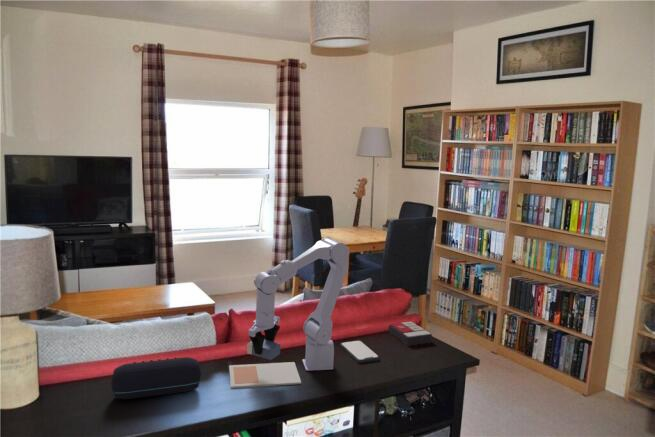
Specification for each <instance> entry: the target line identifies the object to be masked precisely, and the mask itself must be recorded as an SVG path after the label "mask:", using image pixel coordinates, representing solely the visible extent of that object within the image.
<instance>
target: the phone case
mask: <svg viewBox="0 0 655 437" xmlns="http://www.w3.org/2000/svg"><path fill="white" fill-rule="evenodd" d="M340 347H341V348H342V349H343V350H344V351H345V352H346V353H347V354H348V355H349V356H350V357H351V358H352V359H353V360H354V361H355V362H357V363H358V364H365V363H371V362H377V361H379V360H380V356H379V355H378V354H377V353H376V352H374V350H372V348H370V347H368V346H367V345H366V344H365V343H364V342H362V340H353V341H345V342H340Z"/></svg>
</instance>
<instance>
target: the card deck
mask: <svg viewBox="0 0 655 437" xmlns="http://www.w3.org/2000/svg"><path fill="white" fill-rule="evenodd" d="M246 353H247V354H248V355H252V356H256V357H259V358H262V359H266V360H269V361H272V360H273V359H274V358H277V356H279V355H280V354H281V343H280V342H275V341H274V342H272V341H269V340H264V343H263V349H262V354H261V355H259V354H255V351H254V347H253V343H252V341H251V340H250V341H248V342H247V345H246Z"/></svg>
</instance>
